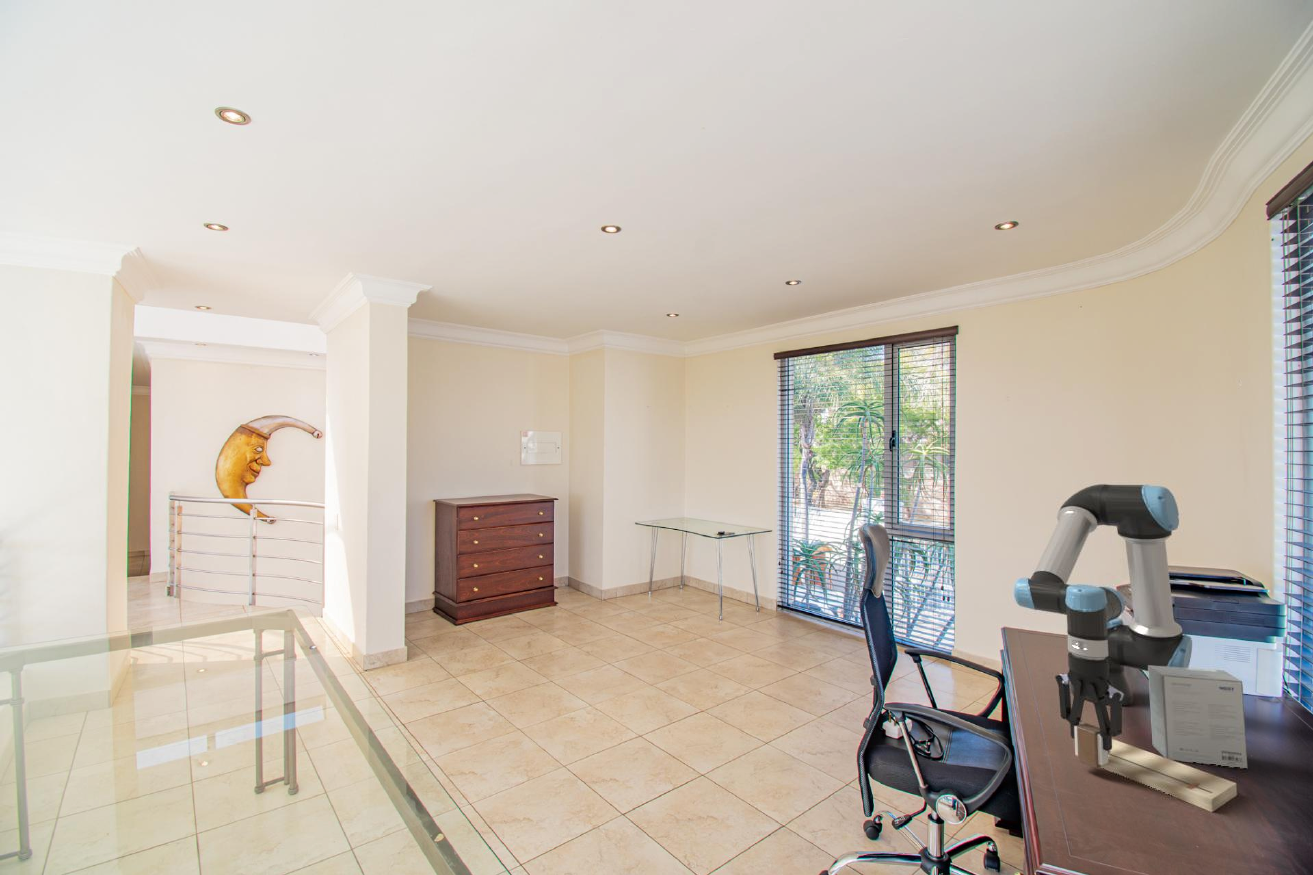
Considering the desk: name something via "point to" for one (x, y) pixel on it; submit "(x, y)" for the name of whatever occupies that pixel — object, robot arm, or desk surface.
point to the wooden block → (1088, 744)
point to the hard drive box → (1198, 715)
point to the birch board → (1170, 776)
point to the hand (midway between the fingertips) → (1091, 758)
